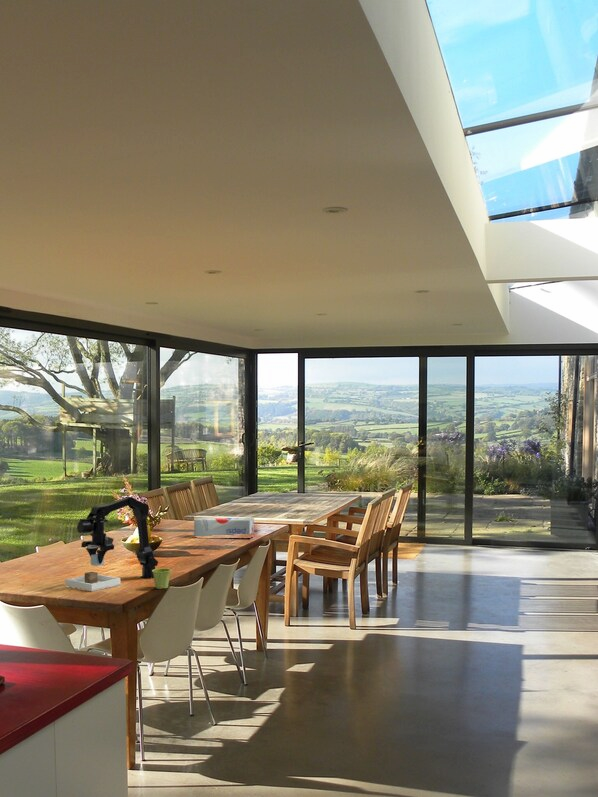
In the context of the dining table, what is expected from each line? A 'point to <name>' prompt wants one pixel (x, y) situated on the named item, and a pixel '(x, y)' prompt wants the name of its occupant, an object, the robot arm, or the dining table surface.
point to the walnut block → (91, 577)
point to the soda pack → (223, 526)
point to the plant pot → (161, 577)
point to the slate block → (96, 560)
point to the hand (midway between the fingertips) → (97, 562)
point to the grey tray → (101, 584)
